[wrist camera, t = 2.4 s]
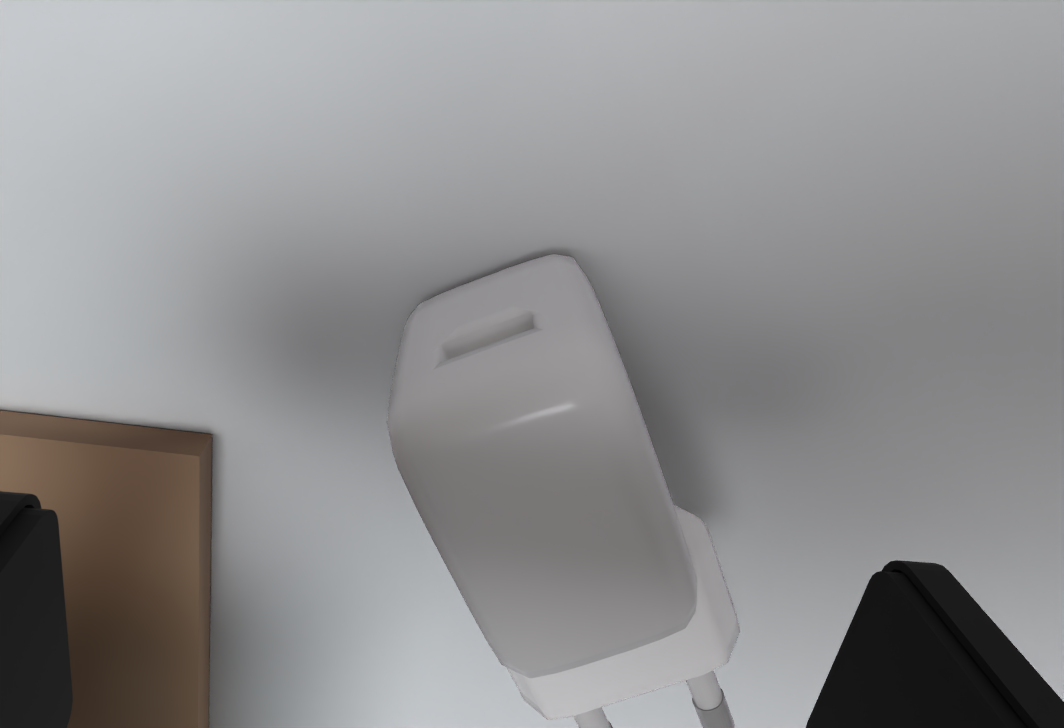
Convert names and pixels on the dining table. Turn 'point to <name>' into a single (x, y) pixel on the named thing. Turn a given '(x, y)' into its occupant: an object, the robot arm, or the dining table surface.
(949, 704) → the robot arm
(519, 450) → the power adapter
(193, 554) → the stand
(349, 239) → the dining table surface
